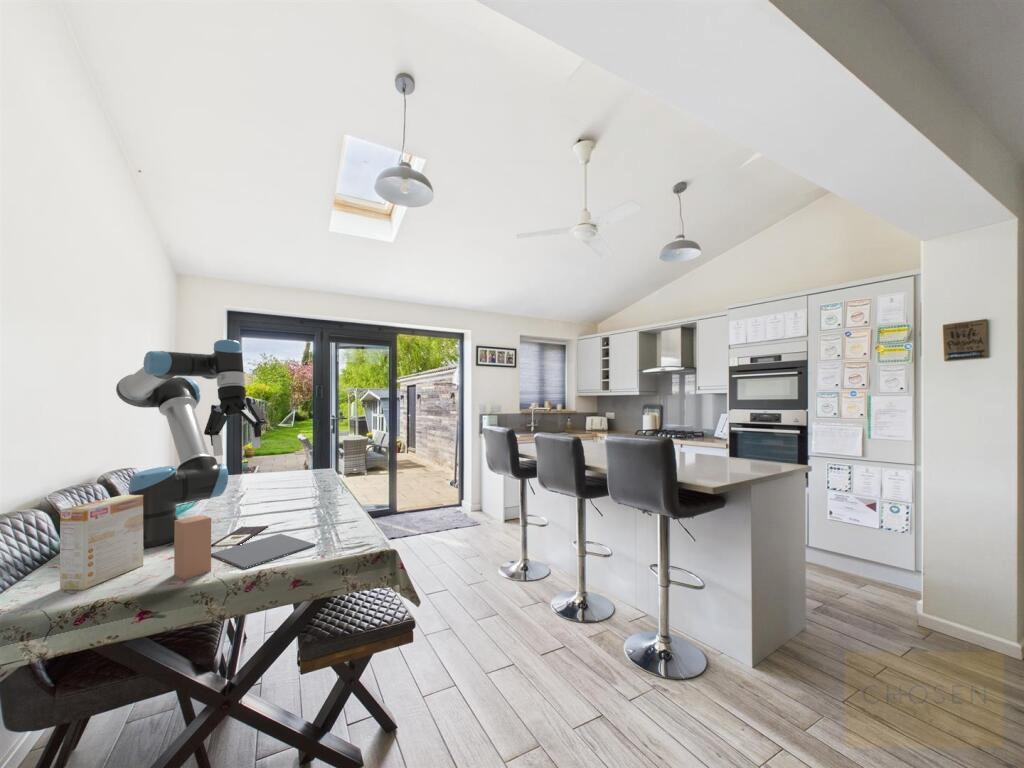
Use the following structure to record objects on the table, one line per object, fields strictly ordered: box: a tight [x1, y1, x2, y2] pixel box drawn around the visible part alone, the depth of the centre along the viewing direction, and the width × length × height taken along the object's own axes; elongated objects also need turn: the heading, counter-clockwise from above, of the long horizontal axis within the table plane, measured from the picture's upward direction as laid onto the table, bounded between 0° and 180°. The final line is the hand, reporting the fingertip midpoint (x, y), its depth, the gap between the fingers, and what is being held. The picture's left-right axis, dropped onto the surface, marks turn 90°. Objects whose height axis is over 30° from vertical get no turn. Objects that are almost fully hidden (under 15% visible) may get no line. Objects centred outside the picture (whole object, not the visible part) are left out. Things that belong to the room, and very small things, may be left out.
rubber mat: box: [211, 533, 316, 569], centre depth 124 cm, size 20×20×1 cm
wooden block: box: [173, 514, 212, 580], centre depth 109 cm, size 6×6×14 cm
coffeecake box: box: [59, 494, 144, 591], centre depth 108 cm, size 15×7×20 cm, turn 174°
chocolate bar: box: [211, 525, 269, 548], centre depth 138 cm, size 9×1×18 cm
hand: (237, 451), depth 132 cm, fingers open, 13 cm apart
